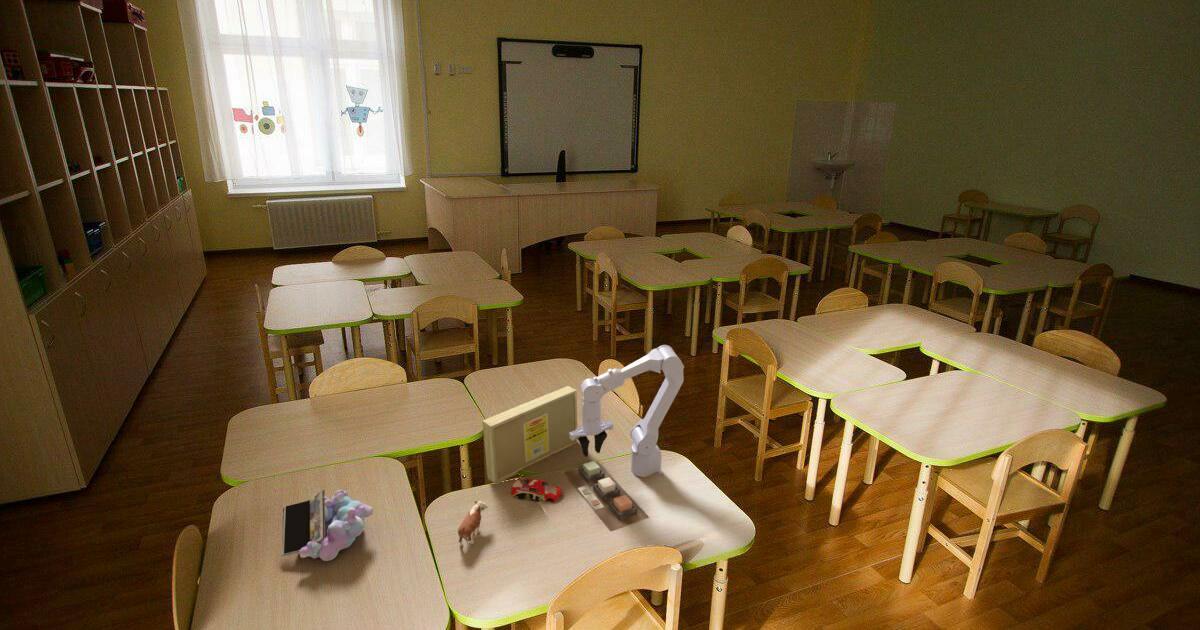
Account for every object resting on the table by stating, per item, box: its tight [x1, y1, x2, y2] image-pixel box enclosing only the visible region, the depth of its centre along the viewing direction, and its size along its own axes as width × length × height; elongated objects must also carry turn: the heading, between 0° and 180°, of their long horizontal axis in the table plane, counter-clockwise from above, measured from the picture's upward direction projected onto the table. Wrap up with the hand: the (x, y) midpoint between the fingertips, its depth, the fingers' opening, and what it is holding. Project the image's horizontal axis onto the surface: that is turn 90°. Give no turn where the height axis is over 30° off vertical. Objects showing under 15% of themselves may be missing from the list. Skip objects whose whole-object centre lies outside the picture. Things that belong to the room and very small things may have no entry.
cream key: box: [598, 477, 615, 494], centre depth 196 cm, size 4×4×2 cm
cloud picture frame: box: [280, 487, 374, 562], centre depth 174 cm, size 20×22×18 cm
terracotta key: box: [614, 495, 632, 513], centre depth 188 cm, size 4×4×2 cm
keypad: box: [562, 461, 650, 532], centre depth 196 cm, size 13×32×3 cm, turn 28°
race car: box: [510, 477, 564, 503], centre depth 196 cm, size 16×7×5 cm, turn 75°
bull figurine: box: [457, 500, 489, 547], centre depth 179 cm, size 4×13×8 cm, turn 161°
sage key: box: [582, 460, 600, 477], centre depth 204 cm, size 4×4×2 cm
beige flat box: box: [482, 385, 579, 485], centre depth 210 cm, size 35×5×22 cm, turn 132°
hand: (591, 453), depth 202 cm, fingers open, 4 cm apart
